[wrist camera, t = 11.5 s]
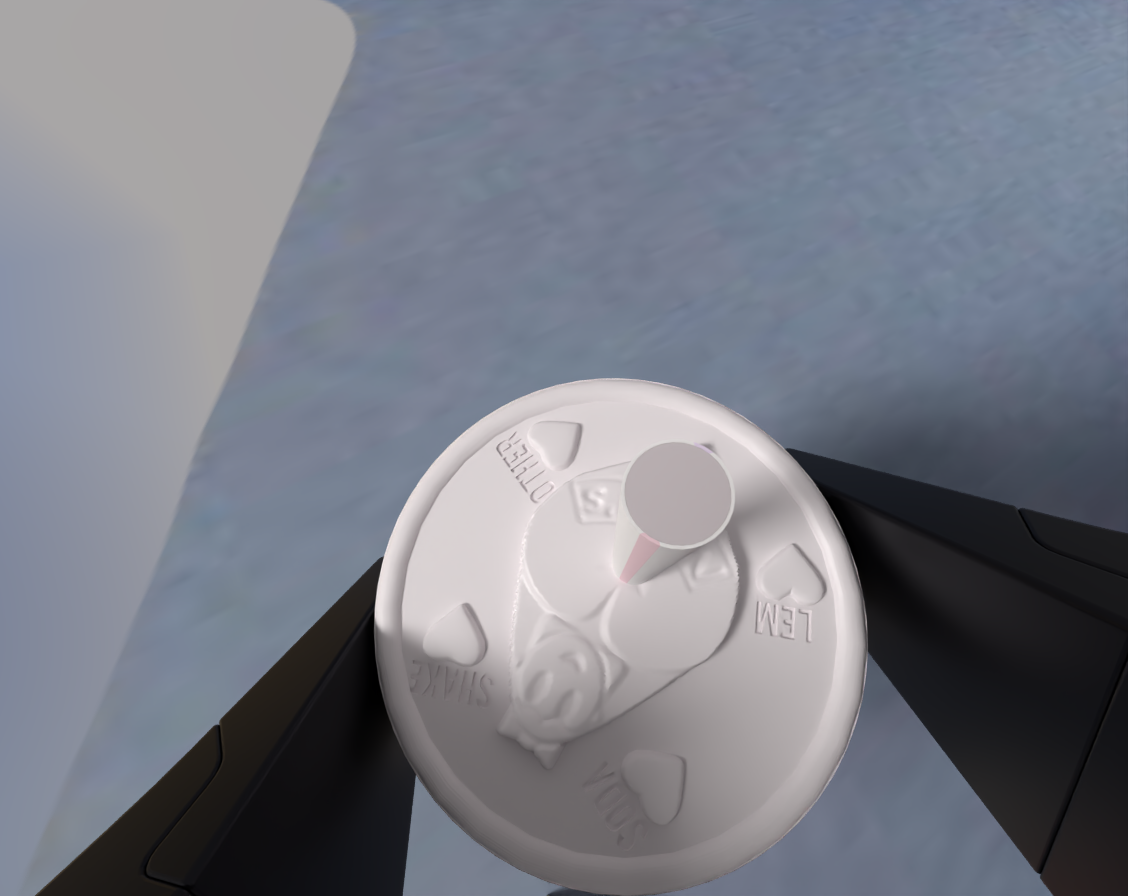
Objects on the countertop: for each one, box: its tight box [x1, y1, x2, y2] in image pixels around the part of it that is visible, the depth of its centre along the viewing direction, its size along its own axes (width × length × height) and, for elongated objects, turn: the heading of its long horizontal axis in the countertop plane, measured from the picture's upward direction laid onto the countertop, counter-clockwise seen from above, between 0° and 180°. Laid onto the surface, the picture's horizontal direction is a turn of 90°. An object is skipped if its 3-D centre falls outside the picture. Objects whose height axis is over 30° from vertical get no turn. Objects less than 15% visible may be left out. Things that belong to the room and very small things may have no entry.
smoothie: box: [374, 378, 868, 896], centre depth 9 cm, size 6×6×14 cm
